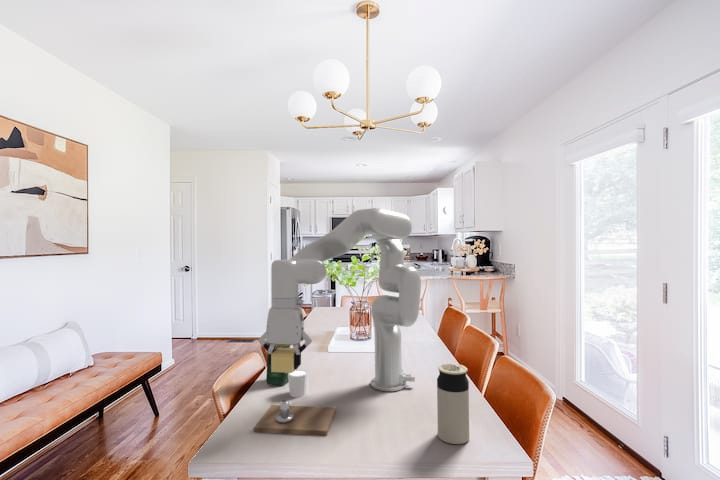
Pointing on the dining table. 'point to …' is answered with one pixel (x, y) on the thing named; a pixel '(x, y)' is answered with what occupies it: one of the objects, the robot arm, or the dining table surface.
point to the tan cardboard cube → (283, 360)
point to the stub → (284, 413)
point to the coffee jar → (276, 377)
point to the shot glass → (298, 383)
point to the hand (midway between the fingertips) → (285, 366)
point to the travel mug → (453, 403)
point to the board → (298, 420)
